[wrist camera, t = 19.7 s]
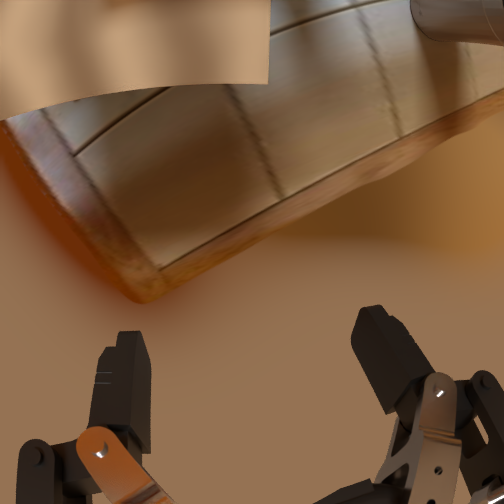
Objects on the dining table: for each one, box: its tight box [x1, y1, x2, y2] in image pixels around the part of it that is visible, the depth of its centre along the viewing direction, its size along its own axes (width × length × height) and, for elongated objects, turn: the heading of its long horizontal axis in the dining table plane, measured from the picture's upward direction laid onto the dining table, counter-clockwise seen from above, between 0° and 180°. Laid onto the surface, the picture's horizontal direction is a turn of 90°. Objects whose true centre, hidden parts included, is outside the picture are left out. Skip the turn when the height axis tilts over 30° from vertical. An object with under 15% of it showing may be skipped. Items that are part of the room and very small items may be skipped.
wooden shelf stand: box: [0, 0, 271, 121], centre depth 17 cm, size 21×17×20 cm
